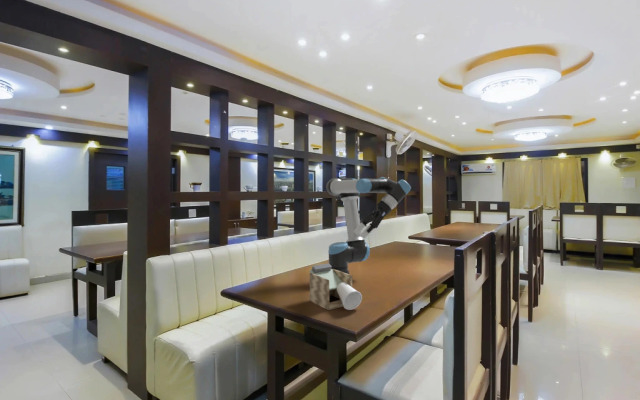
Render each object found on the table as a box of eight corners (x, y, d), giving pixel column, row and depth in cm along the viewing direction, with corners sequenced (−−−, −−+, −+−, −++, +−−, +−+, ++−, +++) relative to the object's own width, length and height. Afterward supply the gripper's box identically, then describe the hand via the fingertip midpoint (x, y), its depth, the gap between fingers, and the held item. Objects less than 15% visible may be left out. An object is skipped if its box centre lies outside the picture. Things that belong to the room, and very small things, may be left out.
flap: (309, 271, 161) (310, 266, 160) (329, 268, 168) (330, 262, 167) (324, 291, 150) (326, 285, 149) (344, 286, 157) (346, 281, 155)
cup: (352, 291, 158) (363, 304, 148) (334, 299, 155) (344, 313, 145) (349, 275, 154) (360, 287, 144) (331, 283, 151) (341, 296, 141)
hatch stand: (309, 300, 159) (309, 273, 159) (333, 295, 167) (333, 268, 167) (328, 310, 146) (327, 280, 145) (352, 303, 154) (352, 275, 153)
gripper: (401, 211, 150) (371, 243, 149) (383, 208, 175) (357, 236, 173) (390, 200, 150) (360, 232, 148) (373, 199, 174) (347, 227, 172)
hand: (358, 235), depth 161 cm, fingers open, 13 cm apart
